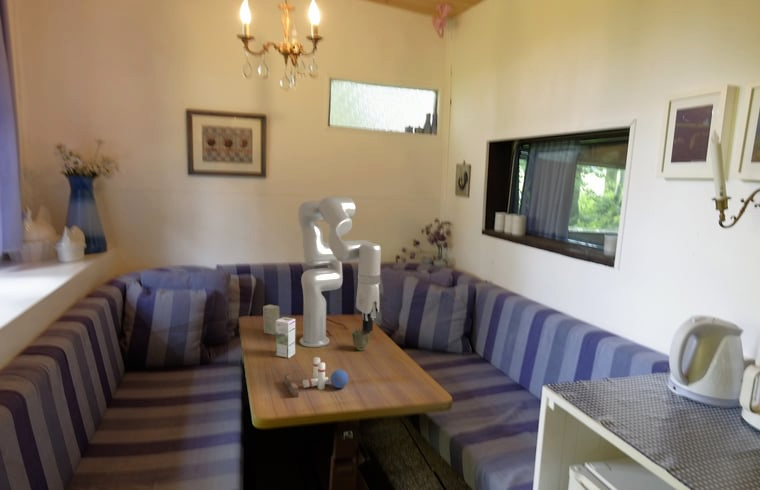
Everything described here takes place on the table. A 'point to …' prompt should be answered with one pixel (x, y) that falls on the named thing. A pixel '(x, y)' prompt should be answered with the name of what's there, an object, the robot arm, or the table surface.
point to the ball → (339, 378)
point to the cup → (360, 339)
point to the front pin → (313, 382)
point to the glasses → (335, 323)
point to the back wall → (291, 385)
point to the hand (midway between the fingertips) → (367, 330)
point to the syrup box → (285, 337)
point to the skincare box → (270, 318)
